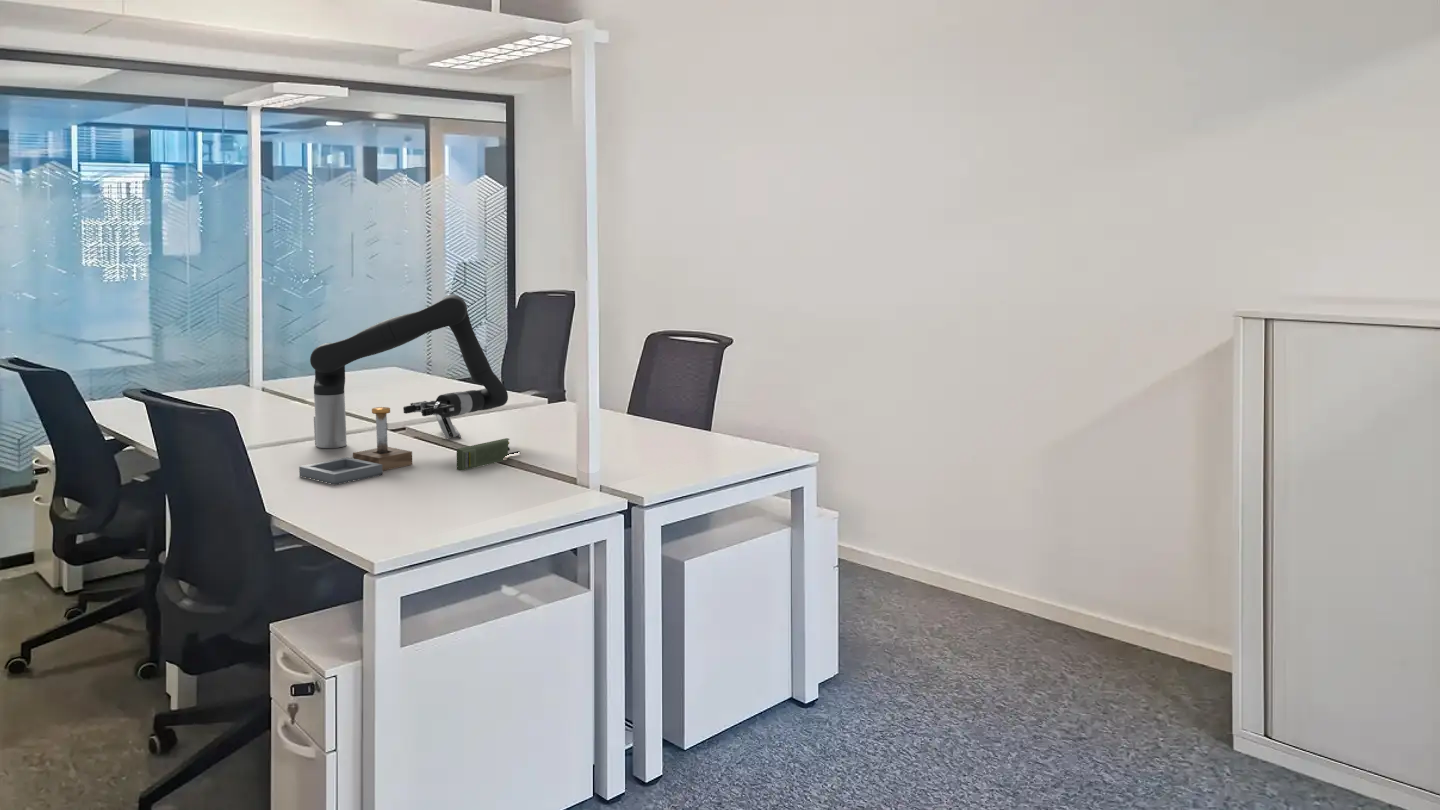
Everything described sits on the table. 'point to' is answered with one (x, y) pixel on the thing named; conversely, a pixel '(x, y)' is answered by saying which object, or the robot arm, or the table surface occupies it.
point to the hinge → (447, 427)
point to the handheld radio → (482, 454)
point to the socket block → (386, 457)
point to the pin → (381, 428)
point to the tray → (341, 470)
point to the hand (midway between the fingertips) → (413, 411)
